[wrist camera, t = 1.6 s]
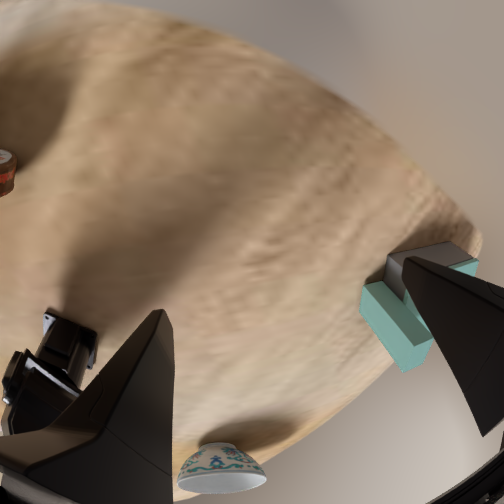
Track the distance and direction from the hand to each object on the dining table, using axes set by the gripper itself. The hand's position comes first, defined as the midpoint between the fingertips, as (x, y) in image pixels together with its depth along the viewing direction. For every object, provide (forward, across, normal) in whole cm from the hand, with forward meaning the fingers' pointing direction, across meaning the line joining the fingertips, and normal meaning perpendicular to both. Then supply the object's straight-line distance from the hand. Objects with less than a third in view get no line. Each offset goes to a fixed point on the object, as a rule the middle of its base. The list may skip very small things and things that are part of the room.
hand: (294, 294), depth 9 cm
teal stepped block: (+13, -17, +14) cm, 26 cm away
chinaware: (+12, +13, +43) cm, 46 cm away
